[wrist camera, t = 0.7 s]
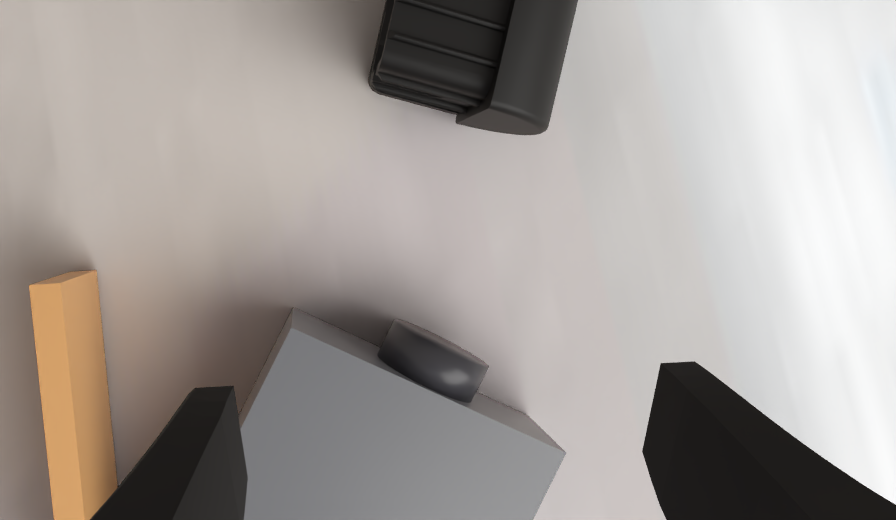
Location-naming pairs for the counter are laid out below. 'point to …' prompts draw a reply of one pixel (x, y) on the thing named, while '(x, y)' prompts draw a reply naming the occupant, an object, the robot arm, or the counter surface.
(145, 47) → the counter surface
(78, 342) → the long wooden stick
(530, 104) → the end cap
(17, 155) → the counter surface
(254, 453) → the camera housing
